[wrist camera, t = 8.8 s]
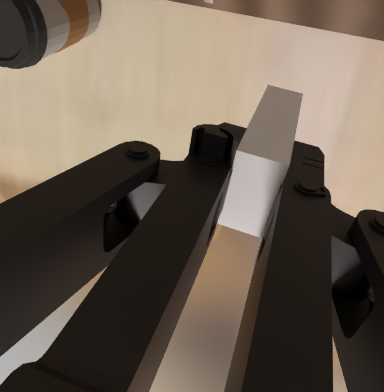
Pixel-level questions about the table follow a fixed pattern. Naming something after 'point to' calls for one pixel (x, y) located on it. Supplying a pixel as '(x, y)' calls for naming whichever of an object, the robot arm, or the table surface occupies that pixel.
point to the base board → (311, 13)
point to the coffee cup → (43, 28)
